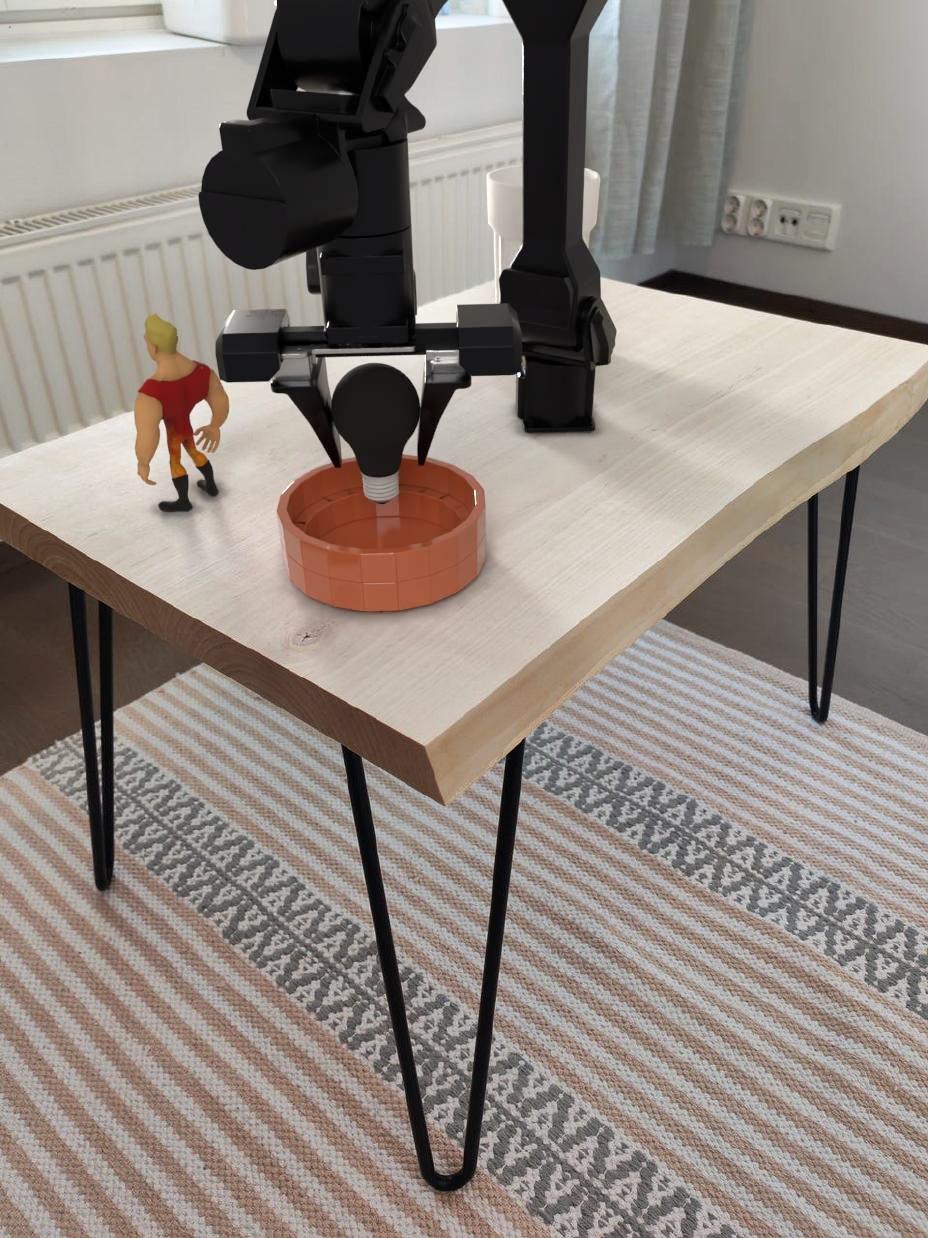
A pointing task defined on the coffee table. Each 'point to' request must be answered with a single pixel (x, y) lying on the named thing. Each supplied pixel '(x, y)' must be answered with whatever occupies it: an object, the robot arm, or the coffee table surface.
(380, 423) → the light bulb
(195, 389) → the action figure
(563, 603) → the coffee table surface
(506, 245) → the cup
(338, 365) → the coffee table surface
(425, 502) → the bowl
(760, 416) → the coffee table surface
